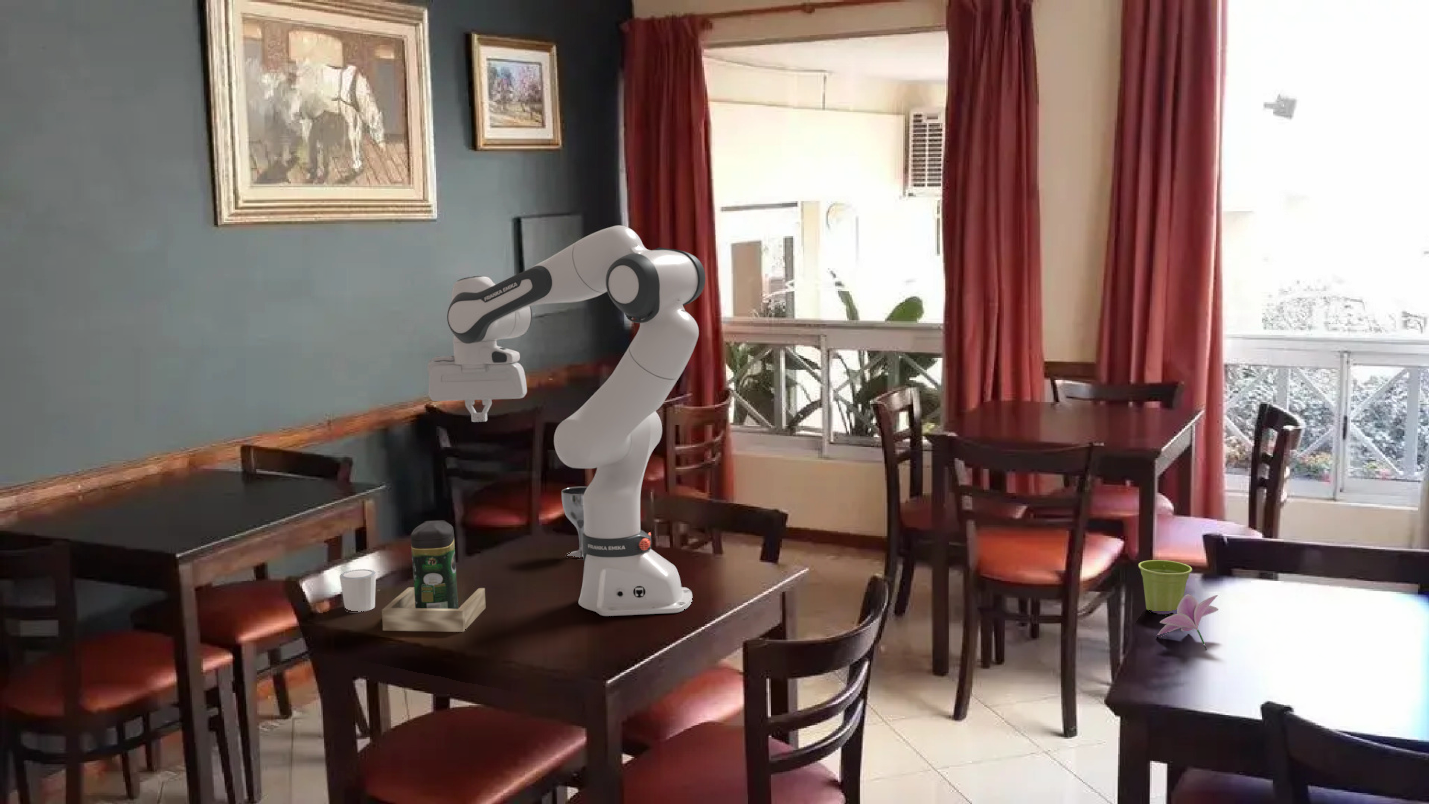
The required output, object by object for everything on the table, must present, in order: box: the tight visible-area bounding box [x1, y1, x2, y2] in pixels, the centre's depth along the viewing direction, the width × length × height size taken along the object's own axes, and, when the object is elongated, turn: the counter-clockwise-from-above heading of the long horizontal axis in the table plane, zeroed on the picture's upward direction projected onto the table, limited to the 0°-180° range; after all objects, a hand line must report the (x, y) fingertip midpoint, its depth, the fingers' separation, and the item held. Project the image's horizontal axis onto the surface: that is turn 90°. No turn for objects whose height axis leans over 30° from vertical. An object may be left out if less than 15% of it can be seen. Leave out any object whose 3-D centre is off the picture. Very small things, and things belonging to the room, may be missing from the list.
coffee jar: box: [410, 520, 459, 609], centre depth 233 cm, size 10×8×19 cm
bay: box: [381, 586, 487, 633], centre depth 234 cm, size 15×14×4 cm
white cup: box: [339, 568, 377, 613], centre depth 241 cm, size 7×7×7 cm
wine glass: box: [561, 485, 588, 558], centre depth 276 cm, size 8×8×15 cm
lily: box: [1157, 593, 1219, 645], centre depth 212 cm, size 12×12×10 cm
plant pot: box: [1138, 559, 1193, 611], centre depth 229 cm, size 9×9×9 cm
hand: (479, 421), depth 255 cm, fingers closed
